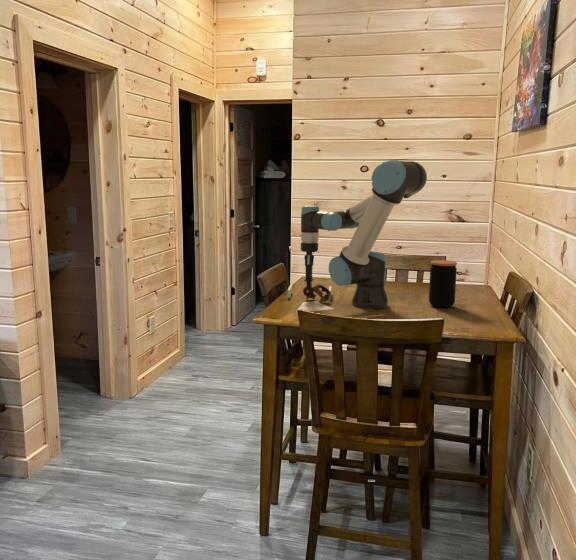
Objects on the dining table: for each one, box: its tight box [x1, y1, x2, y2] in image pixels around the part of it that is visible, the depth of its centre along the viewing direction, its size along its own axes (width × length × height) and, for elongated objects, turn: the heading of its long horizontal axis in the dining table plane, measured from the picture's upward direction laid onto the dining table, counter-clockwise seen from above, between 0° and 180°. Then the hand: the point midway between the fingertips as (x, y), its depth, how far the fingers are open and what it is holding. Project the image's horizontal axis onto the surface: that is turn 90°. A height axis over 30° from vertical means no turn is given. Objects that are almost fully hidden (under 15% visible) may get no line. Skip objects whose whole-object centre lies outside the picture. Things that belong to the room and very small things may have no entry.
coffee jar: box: [428, 259, 458, 308], centre depth 229 cm, size 11×11×18 cm
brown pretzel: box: [287, 284, 332, 301], centre depth 245 cm, size 12×19×4 cm, turn 85°
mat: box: [296, 300, 334, 313], centre depth 225 cm, size 16×16×1 cm
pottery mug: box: [302, 283, 330, 304], centre depth 233 cm, size 12×9×8 cm
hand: (308, 295), depth 239 cm, fingers closed
